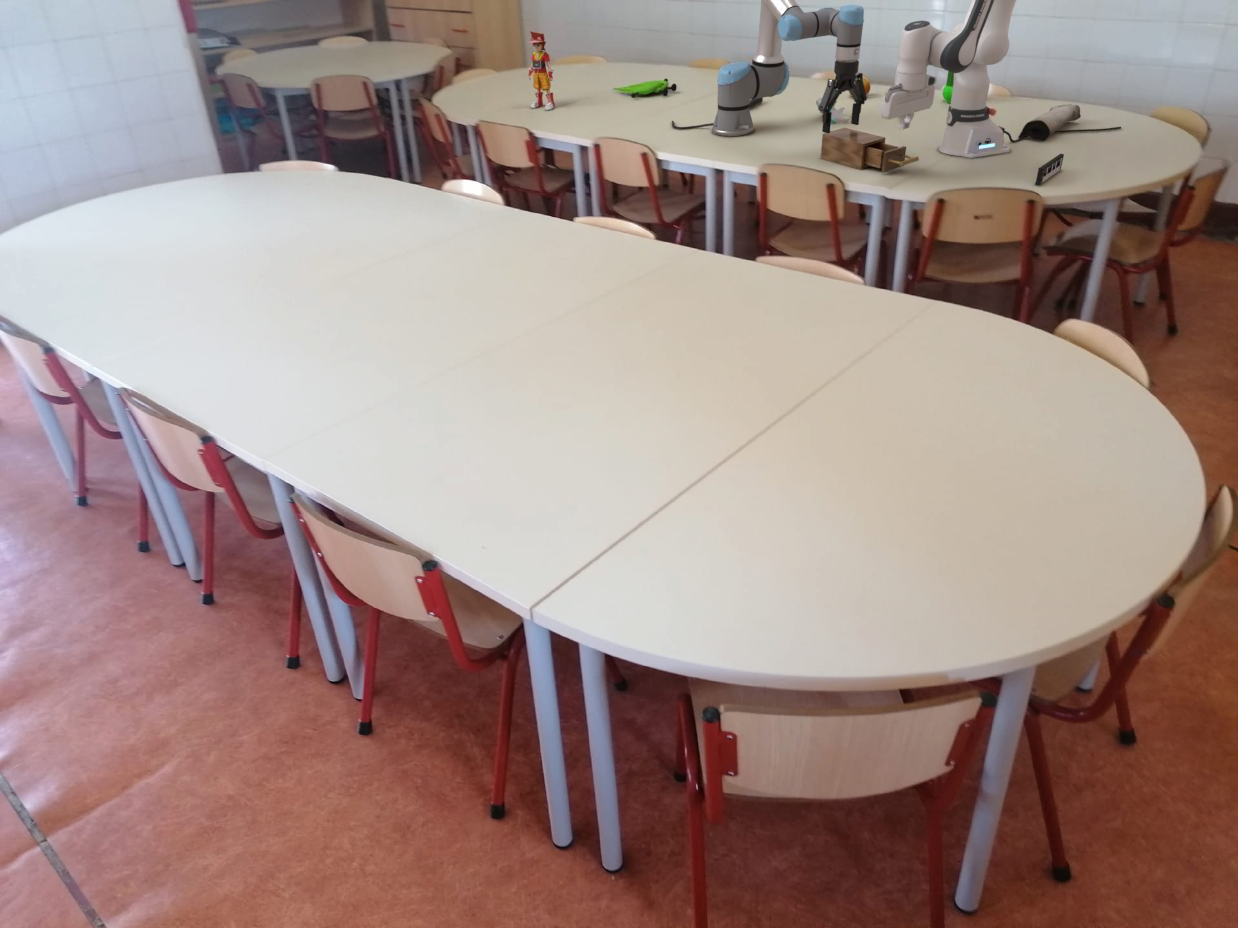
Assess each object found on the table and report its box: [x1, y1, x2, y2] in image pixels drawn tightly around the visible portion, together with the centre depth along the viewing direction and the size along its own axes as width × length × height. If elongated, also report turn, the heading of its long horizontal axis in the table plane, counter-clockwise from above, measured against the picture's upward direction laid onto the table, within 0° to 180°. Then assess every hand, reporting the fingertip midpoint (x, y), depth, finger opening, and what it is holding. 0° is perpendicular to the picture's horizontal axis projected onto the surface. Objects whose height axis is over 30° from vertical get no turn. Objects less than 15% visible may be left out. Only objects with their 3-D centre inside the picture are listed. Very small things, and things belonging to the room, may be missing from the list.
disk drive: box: [749, 97, 764, 110], centre depth 367 cm, size 10×3×15 cm
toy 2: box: [612, 78, 677, 99], centre depth 396 cm, size 28×5×30 cm
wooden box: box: [820, 127, 886, 170], centre depth 297 cm, size 18×10×8 cm, turn 35°
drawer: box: [863, 142, 920, 173], centre depth 288 cm, size 22×9×6 cm, turn 35°
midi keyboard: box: [1035, 153, 1065, 186], centre depth 273 cm, size 18×1×5 cm, turn 138°
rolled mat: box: [1017, 103, 1082, 142], centre depth 314 cm, size 30×9×10 cm
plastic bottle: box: [942, 71, 954, 104], centre depth 348 cm, size 10×10×25 cm
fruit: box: [848, 77, 871, 96], centre depth 368 cm, size 8×8×8 cm
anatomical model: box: [815, 96, 850, 124], centre depth 341 cm, size 15×10×10 cm
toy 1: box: [527, 31, 556, 111], centre depth 374 cm, size 12×9×30 cm
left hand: (840, 128), depth 298 cm, fingers open, 13 cm apart
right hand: (904, 128), depth 278 cm, fingers closed
